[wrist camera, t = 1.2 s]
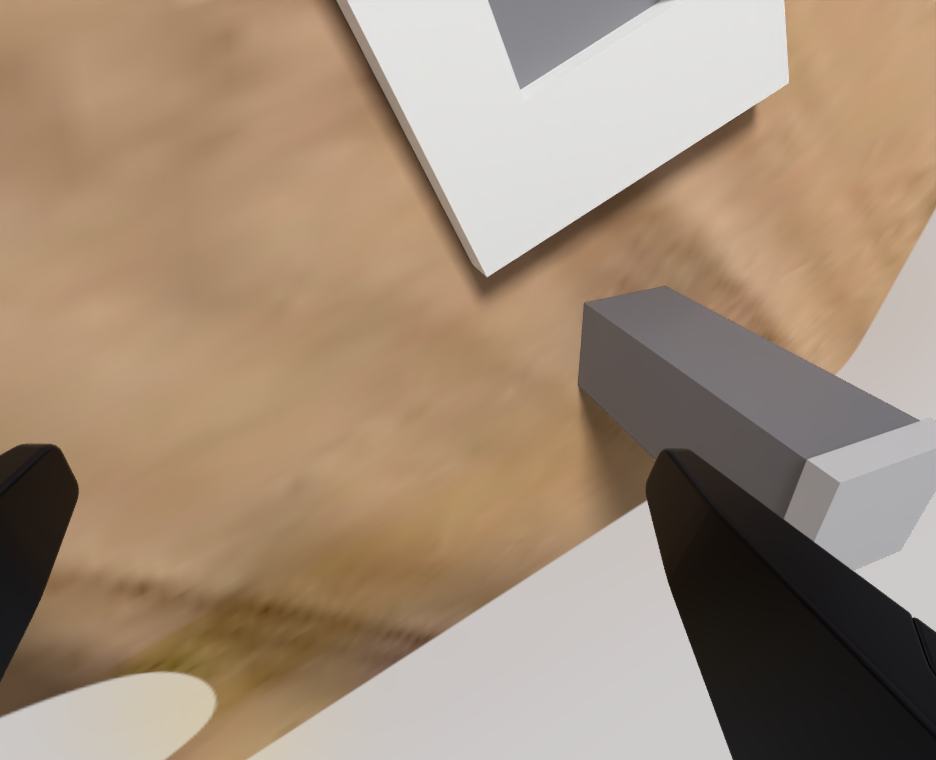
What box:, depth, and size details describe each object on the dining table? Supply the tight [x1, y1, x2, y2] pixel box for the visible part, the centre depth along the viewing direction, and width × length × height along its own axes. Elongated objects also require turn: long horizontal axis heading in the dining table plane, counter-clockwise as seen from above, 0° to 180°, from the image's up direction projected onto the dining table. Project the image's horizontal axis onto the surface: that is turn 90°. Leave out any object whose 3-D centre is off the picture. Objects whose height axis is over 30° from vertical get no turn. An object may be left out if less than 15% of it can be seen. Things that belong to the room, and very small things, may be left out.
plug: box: [578, 286, 936, 571], centre depth 21 cm, size 5×5×13 cm
